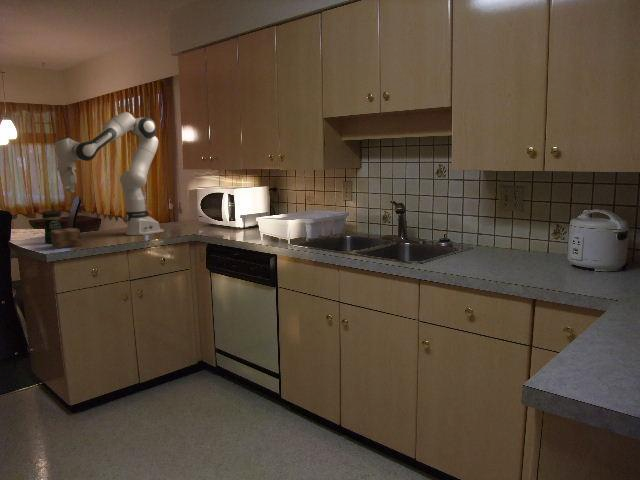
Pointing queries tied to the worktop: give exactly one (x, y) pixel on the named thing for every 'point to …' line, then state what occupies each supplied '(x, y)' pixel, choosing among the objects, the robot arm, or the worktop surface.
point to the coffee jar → (51, 223)
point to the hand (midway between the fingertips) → (70, 191)
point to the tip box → (66, 238)
